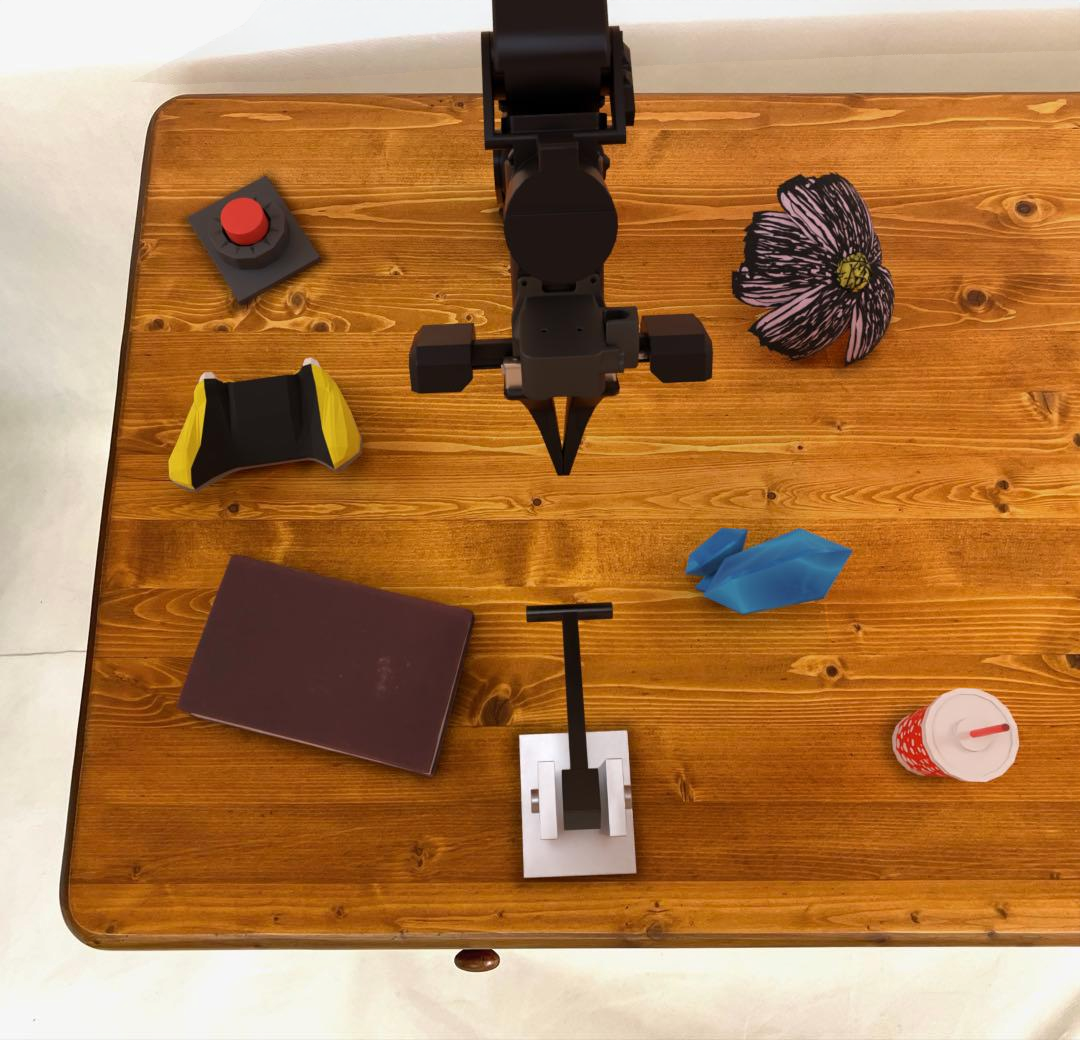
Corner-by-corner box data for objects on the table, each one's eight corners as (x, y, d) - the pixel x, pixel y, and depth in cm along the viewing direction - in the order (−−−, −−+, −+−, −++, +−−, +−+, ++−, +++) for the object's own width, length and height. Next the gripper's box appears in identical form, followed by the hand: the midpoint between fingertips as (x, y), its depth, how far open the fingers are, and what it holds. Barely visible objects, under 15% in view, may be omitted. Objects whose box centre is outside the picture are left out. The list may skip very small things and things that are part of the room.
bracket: (519, 735, 73) (510, 714, 58) (626, 731, 73) (644, 708, 58) (524, 877, 71) (516, 893, 55) (635, 872, 71) (656, 887, 55)
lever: (526, 617, 69) (525, 596, 68) (611, 614, 69) (612, 593, 68) (532, 832, 59) (530, 814, 57) (632, 828, 59) (634, 809, 57)
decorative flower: (802, 364, 71) (759, 163, 71) (722, 394, 82) (685, 220, 82) (958, 337, 76) (918, 149, 76) (863, 369, 87) (828, 205, 87)
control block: (188, 222, 87) (178, 205, 85) (268, 179, 88) (260, 161, 86) (241, 305, 84) (232, 290, 82) (322, 261, 86) (315, 245, 83)
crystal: (669, 531, 71) (832, 479, 69) (681, 554, 79) (827, 509, 77) (699, 629, 69) (869, 579, 67) (708, 643, 77) (860, 598, 75)
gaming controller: (371, 483, 80) (360, 372, 82) (358, 459, 74) (346, 342, 77) (187, 510, 79) (182, 397, 82) (161, 488, 74) (156, 368, 77)
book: (243, 560, 78) (229, 549, 75) (477, 616, 76) (473, 608, 73) (189, 715, 74) (173, 711, 71) (433, 778, 73) (428, 776, 70)
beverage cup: (968, 712, 73) (1060, 689, 60) (960, 795, 72) (1053, 789, 58) (886, 694, 74) (960, 667, 61) (876, 776, 72) (949, 766, 59)
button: (219, 222, 84) (212, 210, 83) (256, 202, 85) (250, 190, 83) (238, 252, 84) (232, 241, 82) (276, 232, 84) (270, 220, 82)
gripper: (385, 282, 52) (414, 538, 59) (737, 266, 52) (722, 524, 59) (406, 235, 62) (429, 460, 69) (702, 222, 62) (693, 449, 69)
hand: (563, 473), depth 66 cm, fingers closed
